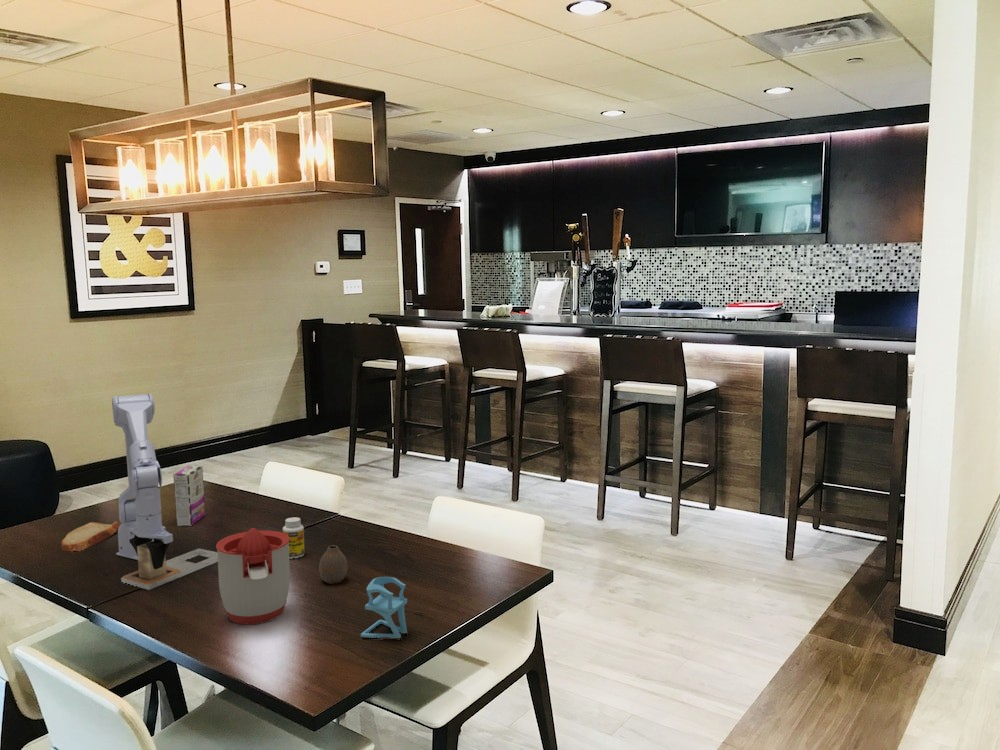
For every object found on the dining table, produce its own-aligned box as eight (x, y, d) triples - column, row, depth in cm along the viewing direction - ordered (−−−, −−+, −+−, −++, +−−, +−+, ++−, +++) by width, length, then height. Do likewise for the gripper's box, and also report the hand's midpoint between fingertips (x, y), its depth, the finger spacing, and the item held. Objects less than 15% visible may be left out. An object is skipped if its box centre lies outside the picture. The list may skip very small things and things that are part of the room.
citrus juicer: (222, 638, 162) (218, 546, 159) (216, 607, 178) (212, 522, 175) (298, 625, 168) (295, 536, 166) (286, 595, 184) (283, 514, 181)
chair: (394, 645, 159) (394, 589, 157) (359, 638, 162) (359, 583, 161) (413, 630, 166) (412, 576, 164) (379, 623, 169) (378, 570, 168)
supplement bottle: (287, 561, 207) (285, 523, 206) (280, 554, 211) (279, 518, 210) (307, 556, 210) (306, 520, 209) (300, 550, 214) (299, 515, 213)
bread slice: (67, 555, 212) (66, 542, 212) (49, 539, 225) (48, 527, 225) (135, 540, 225) (134, 527, 224) (115, 526, 238) (114, 514, 237)
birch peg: (139, 577, 193) (137, 546, 192) (154, 571, 197) (152, 540, 196) (150, 580, 191) (149, 549, 190) (166, 574, 195) (164, 543, 194)
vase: (352, 577, 195) (352, 543, 194) (338, 587, 189) (337, 553, 188) (328, 574, 197) (327, 540, 196) (314, 584, 191) (313, 549, 190)
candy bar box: (190, 515, 247) (187, 465, 245) (205, 515, 247) (203, 465, 245) (175, 526, 236) (172, 473, 234) (191, 526, 236) (189, 473, 234)
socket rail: (121, 582, 192) (121, 576, 192) (199, 552, 213) (198, 547, 213) (148, 589, 187) (148, 584, 187) (225, 558, 209) (225, 553, 208)
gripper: (182, 513, 192) (184, 566, 194) (143, 505, 199) (146, 556, 201) (157, 521, 186) (160, 575, 188) (118, 512, 193) (122, 565, 195)
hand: (151, 566), depth 194 cm, fingers closed on birch peg, 4 cm apart
